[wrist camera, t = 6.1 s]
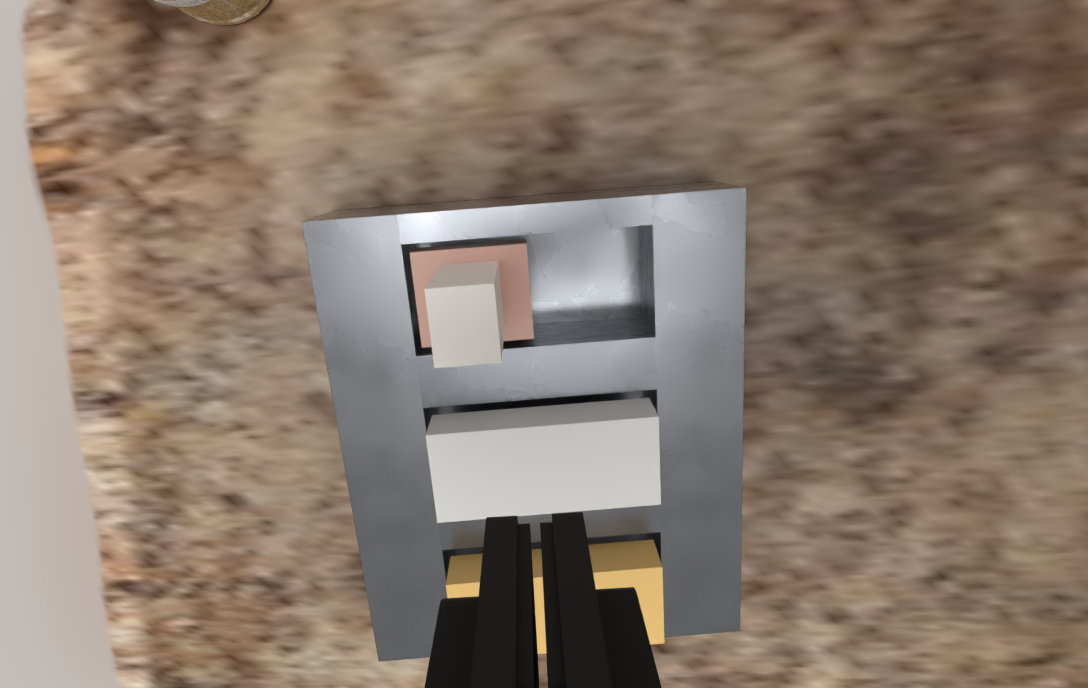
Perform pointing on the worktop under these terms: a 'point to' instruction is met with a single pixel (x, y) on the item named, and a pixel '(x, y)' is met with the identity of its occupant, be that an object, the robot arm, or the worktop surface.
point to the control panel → (545, 379)
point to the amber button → (610, 570)
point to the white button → (544, 459)
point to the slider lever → (472, 300)
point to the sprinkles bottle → (219, 10)
